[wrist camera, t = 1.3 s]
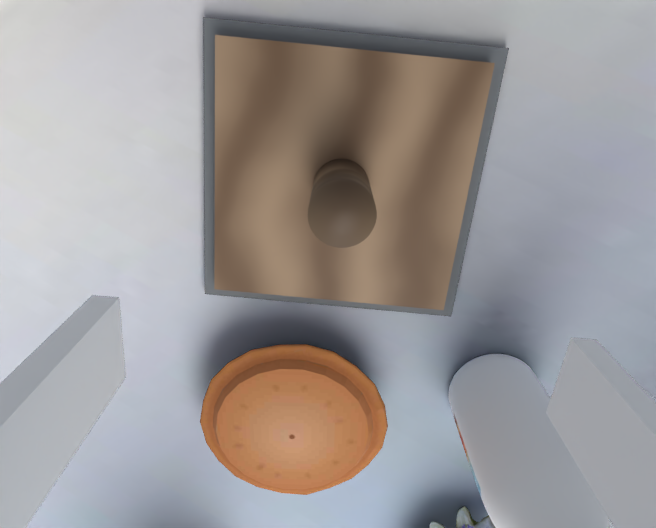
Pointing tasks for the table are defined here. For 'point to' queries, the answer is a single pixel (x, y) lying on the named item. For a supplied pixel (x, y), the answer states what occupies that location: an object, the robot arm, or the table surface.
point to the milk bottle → (518, 448)
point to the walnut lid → (342, 170)
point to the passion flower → (467, 521)
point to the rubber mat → (354, 42)
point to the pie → (293, 418)
